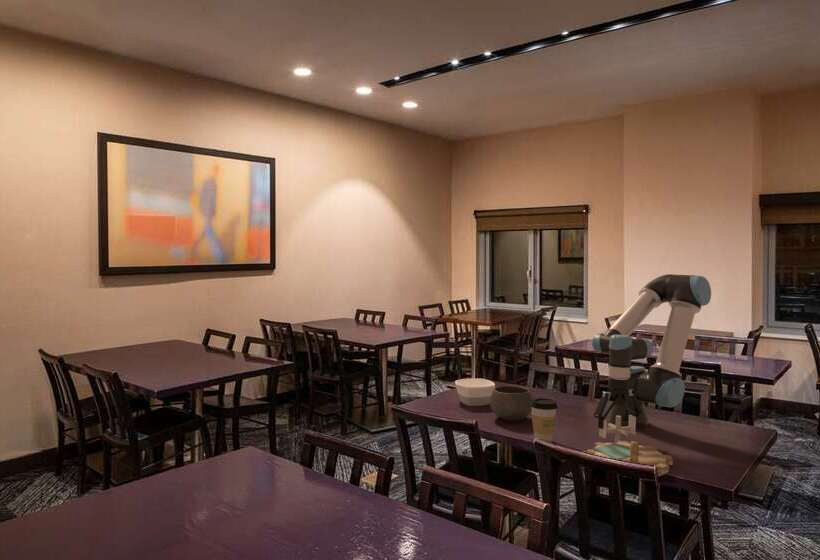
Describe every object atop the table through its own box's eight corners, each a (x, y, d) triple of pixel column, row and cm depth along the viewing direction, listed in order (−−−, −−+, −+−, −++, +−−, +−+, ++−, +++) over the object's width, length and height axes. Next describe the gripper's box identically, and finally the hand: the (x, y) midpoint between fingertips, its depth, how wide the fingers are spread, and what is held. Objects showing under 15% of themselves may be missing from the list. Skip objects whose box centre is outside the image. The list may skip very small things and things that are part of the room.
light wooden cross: (614, 449, 198) (615, 421, 198) (597, 439, 208) (598, 413, 208) (638, 446, 201) (639, 419, 201) (621, 437, 211) (621, 411, 210)
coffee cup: (557, 446, 201) (558, 405, 200) (529, 444, 203) (530, 403, 202) (556, 437, 210) (557, 398, 210) (529, 435, 212) (530, 396, 212)
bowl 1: (449, 399, 265) (449, 379, 265) (484, 396, 270) (484, 377, 270) (464, 409, 248) (464, 388, 248) (500, 406, 253) (501, 385, 253)
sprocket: (584, 443, 200) (584, 418, 200) (662, 449, 195) (662, 424, 194) (591, 471, 175) (592, 443, 174) (681, 479, 169) (682, 449, 169)
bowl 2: (480, 418, 235) (481, 388, 234) (508, 410, 247) (508, 381, 246) (515, 428, 221) (515, 396, 221) (541, 419, 233) (542, 389, 233)
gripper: (638, 373, 212) (636, 428, 212) (584, 377, 202) (582, 435, 203) (653, 377, 205) (651, 434, 205) (599, 382, 195) (597, 442, 196)
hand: (617, 435), depth 204 cm, fingers open, 13 cm apart
